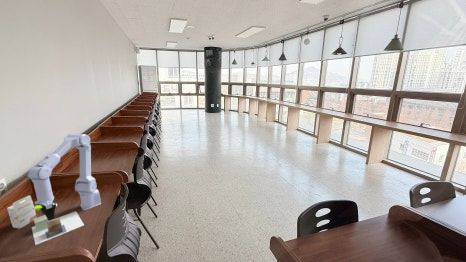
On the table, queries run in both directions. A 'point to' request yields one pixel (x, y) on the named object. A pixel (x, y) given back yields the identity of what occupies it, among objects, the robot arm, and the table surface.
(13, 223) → the ink cartridge box
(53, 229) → the walnut block
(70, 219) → the blueprint board
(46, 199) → the robot arm
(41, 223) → the sage block
